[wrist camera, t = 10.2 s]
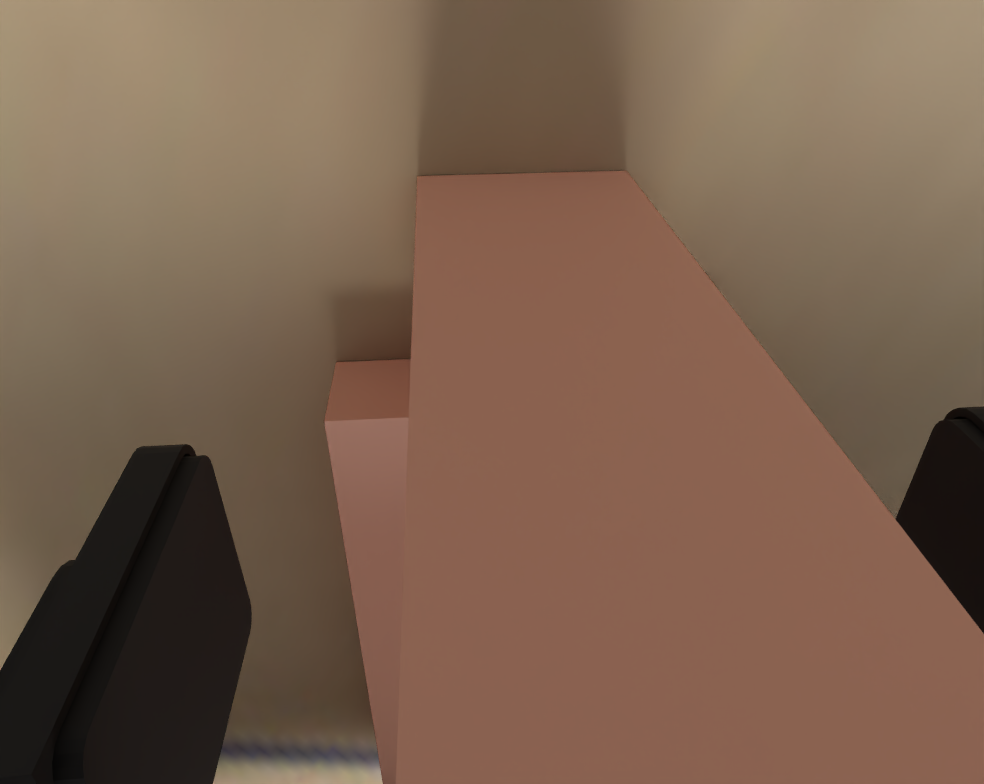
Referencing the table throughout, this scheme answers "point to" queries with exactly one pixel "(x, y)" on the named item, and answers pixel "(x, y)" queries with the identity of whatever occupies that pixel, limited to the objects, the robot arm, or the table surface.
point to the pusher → (623, 526)
